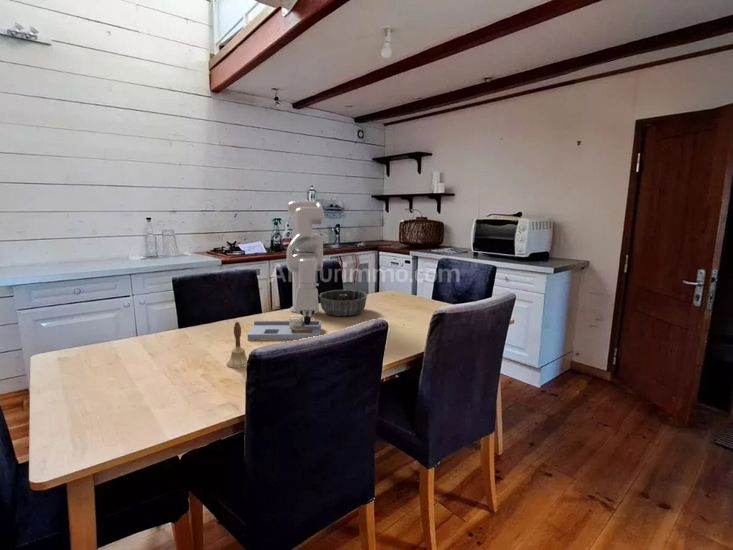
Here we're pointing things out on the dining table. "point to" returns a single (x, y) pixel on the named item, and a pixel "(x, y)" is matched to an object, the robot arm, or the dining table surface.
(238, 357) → the hand bell
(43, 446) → the dining table surface
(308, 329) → the crook tool
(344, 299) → the bundt pan
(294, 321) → the cream block
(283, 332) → the tray
